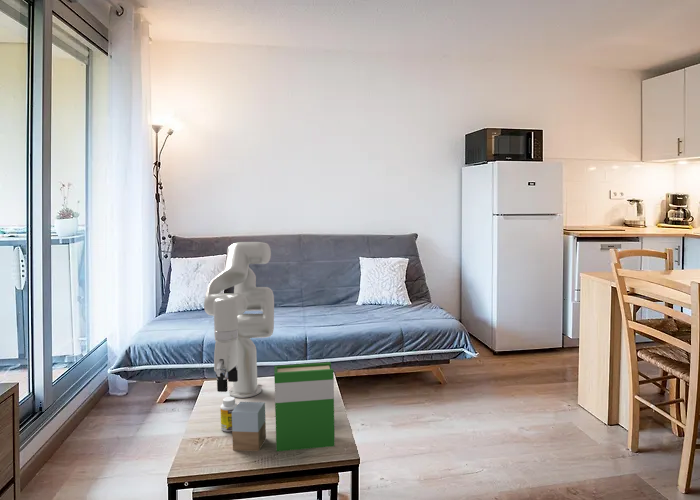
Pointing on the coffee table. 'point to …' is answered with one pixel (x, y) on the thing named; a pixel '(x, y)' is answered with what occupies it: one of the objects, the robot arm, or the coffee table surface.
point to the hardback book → (304, 406)
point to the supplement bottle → (227, 413)
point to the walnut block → (249, 439)
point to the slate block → (248, 416)
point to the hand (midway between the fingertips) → (227, 386)
